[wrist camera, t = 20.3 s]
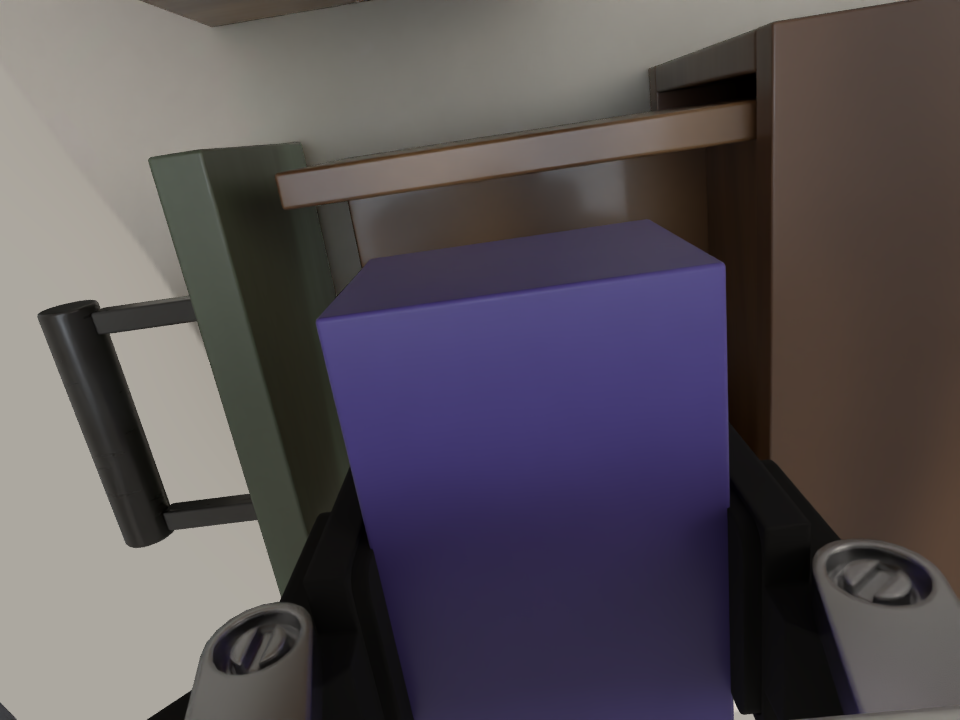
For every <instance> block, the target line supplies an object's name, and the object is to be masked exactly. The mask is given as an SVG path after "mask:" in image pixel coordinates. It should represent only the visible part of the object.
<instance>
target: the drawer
mask: <svg viewBox="0 0 960 720" xmlns="http://www.w3.org/2000/svg"><path fill="white" fill-rule="evenodd" d="M148 162H149V165H150V168H151V172H152V175H153V178H154V181H155V185H156V188H157V191H158V195H159V198H160V201H161V204H162V208H163V211H164V214H165V218H166V221H167V224H168V227H169V231H170V234H171V237H172V240H173V244H174V247H175V250H176V254H177V257H178V260H179V263H180V267H181V270H182V273H183V277H184V280H185V283H186V286H187V290H188V293H189V296H182V297H176V298H169V299H162V300H155V301H148V302H141V303H134V304H128V305H121V306H113V307H106V308H102V309H100V306H99V303H98V302H97V301H95V300H84V301H78V302H72V303H68V304H63V305H59V306H56V307H52V308H49V309H47V310H44V311H42V312H40V313H39V314H38V320H39V322H40V325H41V328H42V330H43V333H44V335H45V338H46V340H47V343H48V345H49V348H50V350H51V353H52V356H53V358H54V361H55V363H56V366H57V368H58V371H59V374H60V376H61V379H62V381H63V384H64V386H65V389H66V392H67V394H68V397H69V399H70V402H71V404H72V407H73V409H74V412H75V415H76V417H77V420H78V422H79V425H80V427H81V430H82V433H83V435H84V438H85V440H86V443H87V445H88V448H89V450H90V453H91V455H92V458H93V461H94V463H95V466H96V468H97V471H98V473H99V476H100V479H101V481H102V484H103V486H104V489H105V491H106V494H107V497H108V499H109V502H110V504H111V507H112V509H113V512H114V514H115V517H116V520H117V522H118V525H119V527H120V530H121V532H122V535H123V537H124V540H125V543H126V544H127V545H128V546H130V547H133V548H140V547H145V546H149V545H152V544H155V543H157V542H159V541H161V540H163V539H165V538H166V537H168V536H169V535H170V534H171V533H172V532H173V531H174V530H178V529H186V528H194V527H203V526H211V525H218V524H227V523H235V522H244V521H252V520H258V522H259V525H260V529H261V532H262V536H263V539H264V542H265V545H266V549H267V552H268V555H269V559H270V562H271V565H272V568H273V571H274V575H275V578H276V581H277V585H278V588H279V591H280V594H281V597H282V595H283V593H284V590H285V588H286V586H287V584H288V581H289V579H290V577H291V575H292V572H293V570H294V568H295V566H296V563H297V561H298V559H299V556H300V554H301V552H302V550H303V547H304V545H305V543H306V541H307V538H308V536H309V534H310V532H311V529H312V527H313V525H314V523H315V520H316V518H317V517H318V515H319V514H320V513H324V512H331V511H332V508H333V506H334V503H335V501H336V499H337V496H338V494H339V491H340V489H341V486H342V484H343V481H344V479H345V477H346V474H347V472H348V469H349V467H350V463H349V459H348V455H347V451H346V447H345V442H344V438H343V434H342V430H341V426H340V422H339V418H338V414H337V409H336V405H335V401H334V397H333V393H332V389H331V385H330V380H329V376H328V372H327V368H326V364H325V360H324V356H323V352H322V347H321V343H320V339H319V335H318V331H317V327H316V319H317V318H318V317H319V316H320V315H321V314H322V313H323V312H324V310H325V309H326V308H327V307H328V306H329V305H330V304H331V303H332V302H333V300H334V299H335V298H336V294H335V290H334V285H333V281H332V276H331V272H330V268H329V263H328V259H327V254H326V250H325V245H324V241H323V237H322V232H321V228H320V223H319V219H318V215H317V210H316V206H318V205H325V204H331V203H338V202H345V201H348V206H349V210H350V215H351V220H352V225H353V229H354V234H355V239H356V244H357V249H358V253H359V258H360V263H361V268H363V267H364V266H365V265H366V264H367V263H368V262H369V260H371V259H375V258H381V257H388V256H395V255H402V254H409V253H416V252H423V251H430V250H437V249H444V248H451V247H458V246H465V245H472V244H478V243H485V242H492V241H499V240H506V239H513V238H520V237H527V236H534V235H541V234H548V233H555V232H562V231H569V230H575V229H582V228H589V227H596V226H603V225H610V224H617V223H624V222H631V221H638V220H645V219H648V220H651V221H653V222H654V223H656V224H658V225H659V226H661V227H663V228H665V229H666V230H668V231H670V232H671V233H673V234H675V235H677V236H678V237H680V238H682V239H684V240H685V241H687V242H689V243H690V244H692V245H694V246H696V247H697V248H699V249H701V250H703V251H704V252H706V253H708V254H709V255H711V256H713V257H715V258H716V259H718V260H720V261H722V262H723V263H724V264H725V266H726V317H727V373H728V421H729V423H730V424H731V425H732V426H733V428H734V429H735V430H736V431H737V432H738V434H739V435H740V436H741V437H742V439H743V440H744V441H745V442H746V444H747V445H748V446H749V447H750V449H751V450H752V451H753V452H754V453H755V455H756V456H757V96H754V97H746V98H738V99H730V100H721V101H715V102H708V103H702V104H695V105H689V106H682V107H676V108H669V109H663V110H656V111H650V112H643V113H637V114H630V115H624V116H618V117H611V118H605V119H598V120H592V121H585V122H579V123H572V124H566V125H559V126H553V127H546V128H540V129H533V130H527V131H520V132H514V133H507V134H501V135H494V136H488V137H481V138H475V139H468V140H462V141H456V142H449V143H443V144H436V145H430V146H423V147H417V148H410V149H404V150H397V151H391V152H384V153H378V154H371V155H365V156H358V157H352V158H345V159H341V160H336V161H331V162H326V163H322V164H317V165H312V166H306V162H305V157H304V153H303V148H302V144H301V143H299V142H296V143H283V144H269V145H255V146H241V147H227V148H214V149H200V150H193V151H186V152H180V153H174V154H167V155H161V156H155V157H150V158H149V159H148ZM195 321H197V322H198V326H199V329H200V332H201V336H202V339H203V342H204V345H205V349H206V352H207V355H208V359H209V362H210V365H211V368H212V371H213V375H214V378H215V381H216V385H217V388H218V391H219V394H220V398H221V401H222V404H223V408H224V411H225V414H226V418H227V421H228V424H229V427H230V431H231V434H232V437H233V440H234V444H235V447H236V450H237V454H238V457H239V460H240V463H241V466H242V470H243V473H244V477H245V480H246V483H247V486H248V490H249V493H250V494H244V495H236V496H228V497H220V498H212V499H204V500H196V501H188V502H180V503H173V504H171V505H170V504H169V500H168V498H167V495H166V492H165V489H164V486H163V484H162V481H161V478H160V475H159V472H158V469H157V467H156V464H155V461H154V458H153V456H152V453H151V450H150V447H149V444H148V441H147V439H146V436H145V433H144V430H143V427H142V424H141V422H140V419H139V416H138V413H137V410H136V407H135V405H134V402H133V399H132V396H131V393H130V391H129V388H128V385H127V382H126V379H125V377H124V374H123V371H122V368H121V365H120V363H119V360H118V357H117V354H116V352H115V348H114V346H113V343H112V340H111V337H110V333H117V332H123V331H131V330H138V329H145V328H152V327H159V326H166V325H173V324H179V323H188V322H195Z"/></svg>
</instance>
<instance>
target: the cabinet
mask: <svg viewBox="0 0 960 720" xmlns="http://www.w3.org/2000/svg"><path fill="white" fill-rule="evenodd" d="M649 80H650V98H651V111H656V110H663V109H669V108H676V107H682V106H689V105H695V104H702V103H708V102H715V101H721V100H730V99H738V98H746V97H754V96H757V457H758V458H759V460H766V459H769V460H773V461H774V462H775V463H776V464H777V465H778V466H779V467H780V468H781V469H782V471H783V472H784V473H785V474H786V475H787V477H788V478H789V479H790V480H791V481H792V482H793V484H794V485H795V486H796V487H797V488H798V489H799V491H800V492H801V493H802V494H803V495H804V497H805V498H806V499H807V500H808V501H809V502H810V504H811V505H812V506H813V507H814V508H815V509H816V511H817V512H818V513H819V514H820V515H821V517H822V518H823V519H824V520H825V521H826V522H827V524H828V525H829V526H830V527H831V528H832V529H833V531H834V532H835V533H836V534H837V535H838V537H839V538H840V539H853V538H865V539H874V540H882V541H885V542H889V543H893V544H897V545H900V546H903V547H905V548H907V549H909V550H912V551H914V552H916V553H918V554H920V555H922V556H923V557H924V558H926V559H927V560H929V561H930V562H932V563H933V564H935V566H936V567H937V568H938V569H939V570H940V571H941V572H942V574H943V575H944V576H945V577H946V579H947V581H948V582H949V584H950V586H951V587H952V589H953V591H954V592H955V594H956V596H957V597H958V599H959V601H960V0H906V1H900V2H894V3H888V4H881V5H875V6H869V7H863V8H857V9H850V10H844V11H838V12H832V13H825V14H819V15H813V16H807V17H801V18H794V19H788V20H782V21H776V22H772V23H770V24H767V25H764V26H761V27H759V28H757V29H755V30H752V31H749V32H746V33H744V34H741V35H738V36H736V37H733V38H730V39H728V40H725V41H722V42H720V43H717V44H714V45H711V46H709V47H706V48H703V49H701V50H698V51H695V52H693V53H690V54H687V55H684V56H682V57H679V58H676V59H674V60H671V61H668V62H666V63H663V64H660V65H658V66H654V67H651V68H649Z"/></svg>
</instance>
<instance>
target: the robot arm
mask: <svg viewBox="0 0 960 720" xmlns="http://www.w3.org/2000/svg"><path fill="white" fill-rule="evenodd" d="M728 429H729V485H730V507H729V508H727V520H728V572H729V624H730V677H731V694H732V696H733V699H734V701H735V703H736V706H737V708H738V710H739V712H740V713H741V714H744V715H745V714H753V715H754V717H755V720H960V601H959V599H958V597H957V596H956V594H955V592H954V591H953V589H952V587H951V586H950V584H949V582H948V581H947V579H946V577H945V576H944V575H943V574H942V572H941V571H940V570H939V569H938V568H937V567H936V566H935V564H933V563H932V562H930V561H929V560H927V559H926V558H924V557H923V556H922V555H920V554H918V553H916V552H914V551H912V550H909V549H907V548H905V547H903V546H900V545H897V544H893V543H889V542H885V541H882V540H874V539H865V538H853V539H840V538H839V537H838V535H837V534H836V533H835V532H834V531H833V529H832V528H831V527H830V526H829V525H828V524H827V522H826V521H825V520H824V519H823V518H822V517H821V515H820V514H819V513H818V512H817V511H816V509H815V508H814V507H813V506H812V505H811V504H810V502H809V501H808V500H807V499H806V498H805V497H804V495H803V494H802V493H801V492H800V491H799V489H798V488H797V487H796V486H795V485H794V484H793V482H792V481H791V480H790V479H789V478H788V477H787V475H786V474H785V473H784V472H783V471H782V469H781V468H780V467H779V466H778V465H777V464H776V463H775V462H774V461H773V460H769V459H766V460H759V458H758V457H757V456H756V455H755V453H754V452H753V451H752V450H751V449H750V447H749V446H748V445H747V444H746V442H745V441H744V440H743V439H742V437H741V436H740V435H739V434H738V432H737V431H736V430H735V429H734V428H733V426H732V425H731V424H730V423H729V421H728ZM147 720H414V718H413V714H412V710H411V705H410V701H409V697H408V693H407V689H406V685H405V680H404V676H403V672H402V668H401V664H400V660H399V655H398V651H397V647H396V643H395V639H394V635H393V630H392V626H391V622H390V618H389V614H388V610H387V606H386V601H385V597H384V593H383V589H382V585H381V581H380V576H379V572H378V568H377V564H376V560H375V556H374V551H373V549H370V546H369V542H368V537H367V533H366V529H365V525H364V521H363V517H362V513H361V509H360V504H359V500H358V496H357V492H356V488H355V484H354V480H353V475H352V471H351V467H349V469H348V472H347V474H346V477H345V479H344V481H343V484H342V486H341V489H340V491H339V494H338V496H337V499H336V501H335V503H334V506H333V508H332V511H331V512H324V513H320V514H319V515H318V517H317V518H316V520H315V523H314V525H313V527H312V529H311V532H310V534H309V536H308V538H307V541H306V543H305V545H304V547H303V550H302V552H301V554H300V556H299V559H298V561H297V563H296V566H295V568H294V570H293V572H292V575H291V577H290V579H289V581H288V584H287V586H286V588H285V590H284V593H283V595H282V597H281V600H280V602H275V603H269V604H263V605H260V606H257V607H254V608H252V609H249V610H246V611H244V612H243V613H241V614H239V615H237V616H235V617H234V618H232V619H230V620H229V621H228V622H226V624H224V625H223V626H222V627H220V628H219V629H218V630H217V631H216V632H215V633H214V634H213V636H212V637H211V638H210V640H208V642H207V643H206V645H205V647H204V649H203V652H202V654H201V656H200V660H199V664H198V668H197V672H196V676H195V680H194V684H193V688H192V690H191V691H190V692H188V693H187V694H185V695H184V696H182V697H181V698H179V699H178V700H176V701H174V702H173V703H171V704H170V705H169V706H167V707H165V708H164V709H162V710H161V711H160V712H158V713H156V714H155V715H153V716H152V717H150V718H149V719H147Z"/></svg>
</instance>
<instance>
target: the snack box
mask: <svg viewBox="0 0 960 720" xmlns="http://www.w3.org/2000/svg"><path fill="white" fill-rule="evenodd" d="M316 327H317V331H318V335H319V339H320V343H321V347H322V352H323V356H324V360H325V364H326V368H327V372H328V376H329V380H330V385H331V389H332V393H333V397H334V401H335V405H336V409H337V414H338V418H339V422H340V426H341V430H342V434H343V438H344V442H345V447H346V451H347V455H348V459H349V463H350V467H351V471H352V475H353V480H354V484H355V488H356V492H357V496H358V500H359V504H360V509H361V513H362V517H363V521H364V525H365V529H366V533H367V537H368V542H369V546H370V549H373V551H374V556H375V560H376V564H377V568H378V572H379V576H380V581H381V585H382V589H383V593H384V597H385V601H386V606H387V610H388V614H389V618H390V622H391V626H392V630H393V635H394V639H395V643H396V647H397V651H398V655H399V660H400V664H401V668H402V672H403V676H404V680H405V685H406V689H407V693H408V697H409V701H410V705H411V710H412V714H413V718H414V720H734V709H733V696H732V694H731V677H730V624H729V572H728V520H727V508H729V507H730V485H729V429H728V373H727V317H726V266H725V264H724V263H723V262H722V261H720V260H718V259H716V258H715V257H713V256H711V255H709V254H708V253H706V252H704V251H703V250H701V249H699V248H697V247H696V246H694V245H692V244H690V243H689V242H687V241H685V240H684V239H682V238H680V237H678V236H677V235H675V234H673V233H671V232H670V231H668V230H666V229H665V228H663V227H661V226H659V225H658V224H656V223H654V222H653V221H651V220H648V219H645V220H638V221H631V222H624V223H617V224H610V225H603V226H596V227H589V228H582V229H575V230H569V231H562V232H555V233H548V234H541V235H534V236H527V237H520V238H513V239H506V240H499V241H492V242H485V243H478V244H472V245H465V246H458V247H451V248H444V249H437V250H430V251H423V252H416V253H409V254H402V255H395V256H388V257H381V258H375V259H371V260H369V262H368V263H367V264H366V265H365V266H364V267H363V268H362V269H361V270H360V272H359V273H358V274H357V275H356V276H355V277H354V278H353V279H352V280H351V282H350V283H349V284H348V285H347V286H346V287H345V288H344V289H343V290H342V292H341V293H340V294H339V295H338V296H337V297H336V298H335V299H334V300H333V302H332V303H331V304H330V305H329V306H328V307H327V308H326V309H325V310H324V312H323V313H322V314H321V315H320V316H319V317H318V318H317V319H316Z"/></svg>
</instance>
